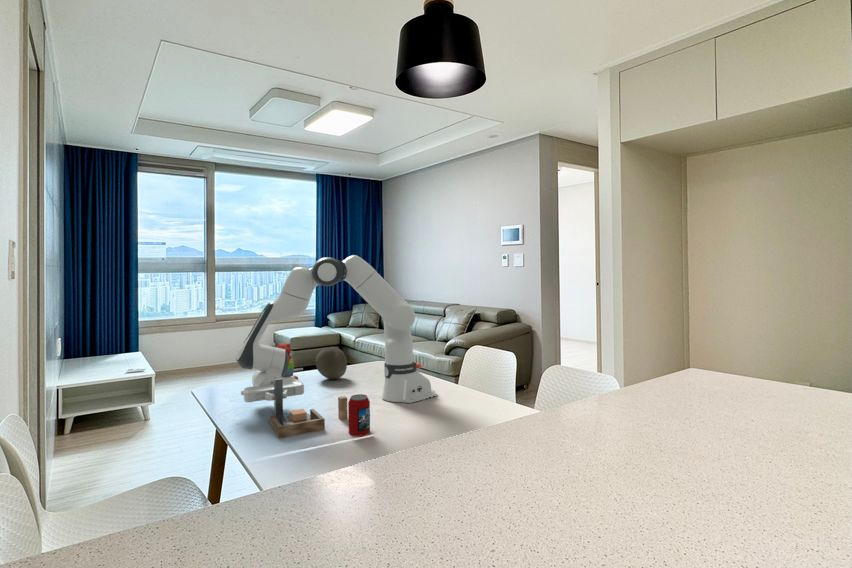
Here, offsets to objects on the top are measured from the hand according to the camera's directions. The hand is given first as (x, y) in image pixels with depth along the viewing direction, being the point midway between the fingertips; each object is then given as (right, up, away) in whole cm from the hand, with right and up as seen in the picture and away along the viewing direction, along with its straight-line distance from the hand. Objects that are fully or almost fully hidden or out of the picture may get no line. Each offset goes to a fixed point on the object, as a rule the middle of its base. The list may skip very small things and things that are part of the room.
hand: (278, 397), depth 156 cm
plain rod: (+21, -9, +4) cm, 23 cm away
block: (+7, -9, -2) cm, 12 cm away
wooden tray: (+6, -9, -2) cm, 11 cm away
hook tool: (+5, -8, -2) cm, 10 cm away
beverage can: (+28, -10, -9) cm, 31 cm away
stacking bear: (-16, -7, +57) cm, 59 cm away
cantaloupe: (+6, -7, +60) cm, 61 cm away
